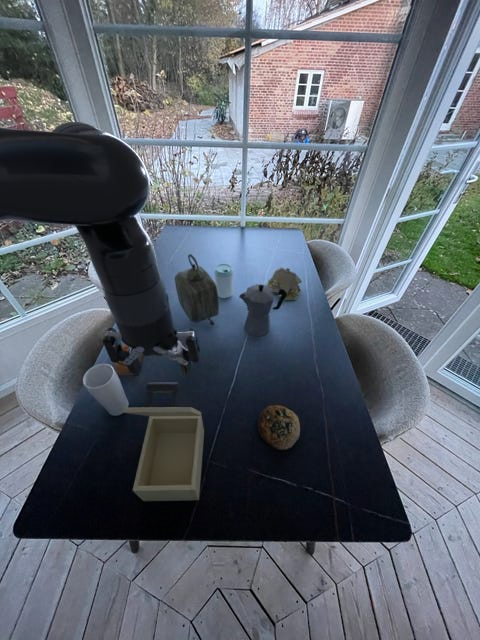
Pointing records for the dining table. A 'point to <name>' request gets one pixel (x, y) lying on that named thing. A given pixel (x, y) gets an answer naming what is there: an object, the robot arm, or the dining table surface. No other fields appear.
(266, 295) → the coffeepot
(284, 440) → the bread roll
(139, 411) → the lid
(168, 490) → the beige open box
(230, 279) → the can
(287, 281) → the ceramic model
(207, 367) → the dining table surface
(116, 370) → the block
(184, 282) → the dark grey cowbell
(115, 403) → the drinking glass
